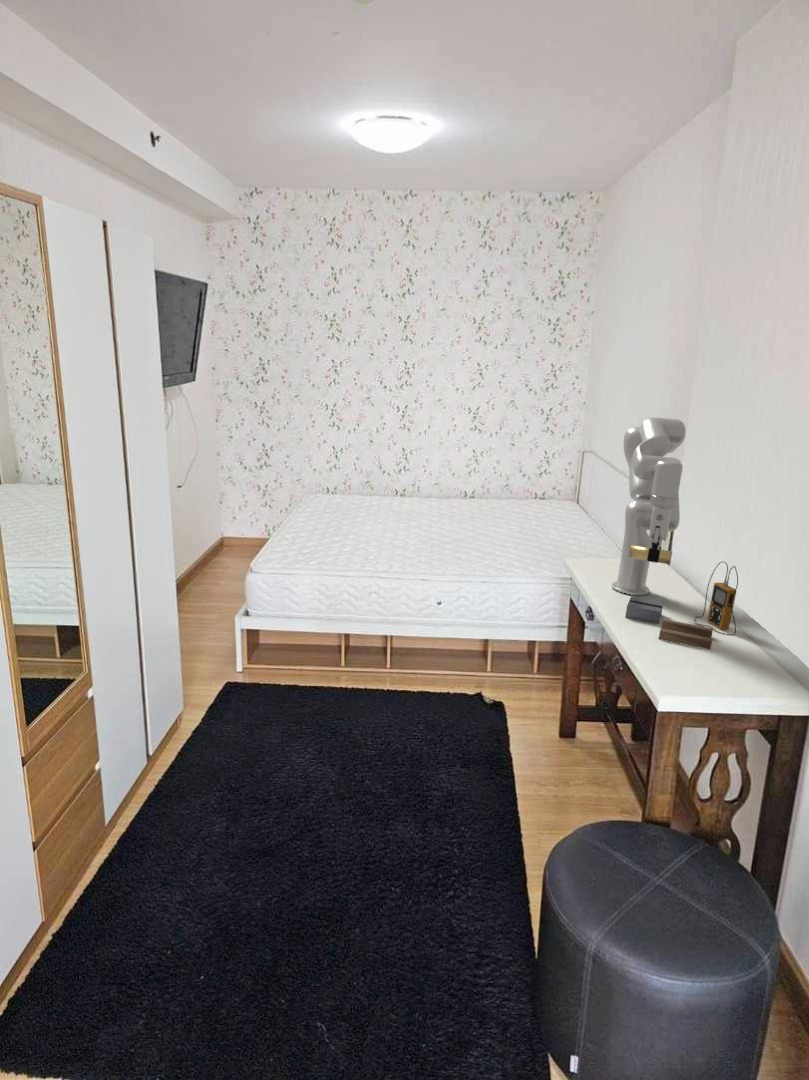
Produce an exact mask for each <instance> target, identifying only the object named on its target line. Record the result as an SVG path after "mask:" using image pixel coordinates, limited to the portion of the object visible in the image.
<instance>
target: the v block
mask: <svg viewBox="0 0 809 1080" xmlns="http://www.w3.org/2000/svg"><path fill="white" fill-rule="evenodd" d="M663 608H664V602H663V601H662V602H661V601H656V600H653V599H652V600H651V599H647V598H642V597H635V596H633V595H630V598H629V600H628V603H627V605H626V611H625V619H631V620H636V621H641V622H645V623H651V624H657V625H659V624H660V622H661V617H662V614H663Z"/></svg>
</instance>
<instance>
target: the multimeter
mask: <svg viewBox="0 0 809 1080" xmlns="http://www.w3.org/2000/svg"><path fill="white" fill-rule="evenodd" d="M722 563H724V564H725V565H726V575H725V577H724V581H723V582H714V583H713V588H712V593H711V599H710V604H709V608H708V609H709V610H708V615H707V620H706V621H707V623H708V624H711V625H713V626H714V627H716V628H717V629H718V630H723V629H725V630H729V628H730V624H731V620H732V619H731V618H732V617H733V623H734V633H733V634H731V633H730V634H729V633H726V634H727V635H726V636H735V635H736V633H737V626H736V620H735V615H734V605H735V600H736V595H737V588H738V586H739V575H738V571H737V566H736V565H733V566H732V567H731V568H730V569H729V566H728V563H727V562H726V561H720V562H719V563H718V564H717V565H716V567H715V568H714V570H713V572H712V574H711V575H710V578H709V580H708V584H707V587H706V593H705V594H706V596H705V601H704V607H703V609H704V610H703V613H702V615H701V616H700V618H703V616H704V615H705V611H706V605H707V598H708V597H707V596H708V589H709V586H710V582H711V580H712V577H713V575H714V573H715V572H716V570H717V567H718V566H719V565H720V564H722ZM732 569H735V573H736V579H737V581H736V587H735V588H734V587H732V586H730V585H729V580H730V573H731V571H732ZM696 618H698V616H694V618H693V622H690V621H688V624H693V625H697V626H702V627H707V628H712V629H713V631H715V632H717V633H719V634H721V633H722V635H725V633H723V632H720V631H718V630H715V629H714V628H713V627H712V626H709V625H705V624H702V623H698V622H696Z"/></svg>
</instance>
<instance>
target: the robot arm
mask: <svg viewBox="0 0 809 1080" xmlns="http://www.w3.org/2000/svg"><path fill="white" fill-rule="evenodd" d="M685 437H686V426H685V424H684V422H683V421H681V420H680V419H676V418H674V419H673V418H665V417H664V418H663V417H648V418H646V419H644V420H643V421H642V422H641V423H640V425H639V426H635V427H634V426H633V427H630V428H628V429H627V430H626V431H625V433H624V437H623V453H624V456H625V459H626V462H627V466H628V471H629V474H628V479H629V480H628V483H629V486H628V487H629V488H628V489H629V496H630V498H631V500H633V501H630V502H629V503H628V504H627V506H626V508H625V512H624V516H625V518H624V522H625V523H624V524H625V525H624V535H623V543H622V549H621V555H620V561H619V567H618V568H619V569H618V573H617V581H614V582H612V583H611V588H612V587H613V588H614V589H615V590H614V589H613V588H612V589H613V590H614V591H616V590H617V591H616V592H618V591H619V592H618V593H621V592H622V594H624V593H626V594H625V595H629V594H630V596H647V595H649V593H650V588H649V587H648V586H646V584H647V579H648V573H649V568H650V567H649V566H650V563H656V564H657V563H658V564H659V562H658V560H659V555H660V550H662V543H663V542H666V541H667V539H668V536H669V532H674V531H675V530H677V529H678V528H679V524H680V518H681V517H680V515H681V513H680V500H679V499H680V497H679V491H680V484H681V479H682V475H683V474H682V473H683V464H682V462H681V461H680V459H678V458H676V457H671V456H670V457H669V456H668V457H667V456H666V455H668V454H671V453H673V452H674V451H676V450H677V449H678V448H679V447H680V446H681V445H682V444H683V442H684V440H685ZM647 531H649V534H648V532H647ZM631 545H636V546H642V547H648V548H649V552H648V558H647V560H641V559H636V558H630V557H629V554H630V548H631ZM659 549H660V550H659Z"/></svg>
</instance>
